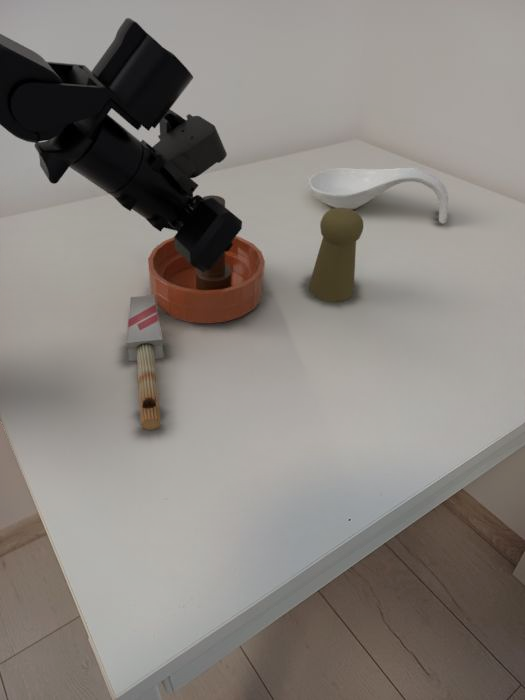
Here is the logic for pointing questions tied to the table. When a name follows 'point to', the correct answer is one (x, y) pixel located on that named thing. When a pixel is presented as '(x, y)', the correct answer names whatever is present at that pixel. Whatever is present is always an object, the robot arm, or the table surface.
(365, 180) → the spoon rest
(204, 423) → the table surface
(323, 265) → the olive game pawn
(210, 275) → the pestle
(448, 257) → the table surface
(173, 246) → the bowl
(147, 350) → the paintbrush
